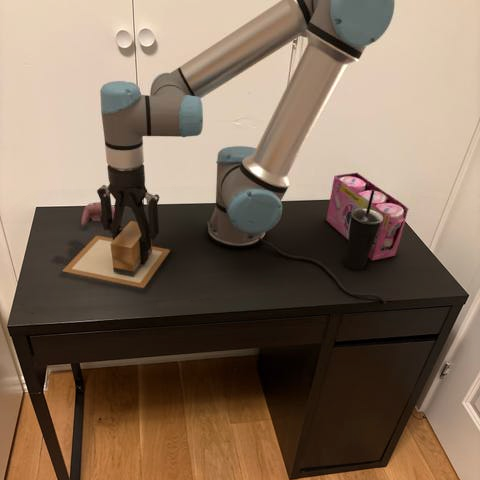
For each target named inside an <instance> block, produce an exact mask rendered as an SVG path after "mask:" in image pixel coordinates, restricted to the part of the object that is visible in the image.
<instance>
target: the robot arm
mask: <svg viewBox="0 0 480 480" xmlns="http://www.w3.org/2000/svg"><path fill="white" fill-rule="evenodd" d="M395 1H396V0H280V1H278V2H277V3H275V4H274V5H272V6H271V7H269V8H267V9H266V10H265V11H263V12H262V13H260V14H258V15H257V16H255V17H254V18H252V19H251V20H249V21H248V22H246V23H245V24H243V25H241V26H240V27H239V28H237V29H235V30H234V31H232V32H231V33H229V34H228V35H226V36H225V37H223V38H222V39H220V40H218V41H217V42H216V43H214V44H212V45H210V47H208V48H206V49H204V50H203V51H202V52H199V54H197V55H196V56H194V57H193V58H191V59H190V60H188V61H187V62H185V63H183V64H182V65H181V66H179V67H178V68H176V69H174V70H172V71H171V72H162V73H160V74H158V75H157V76H155V78H153V81H152V83H151V86H150V90H149V91H150V93H149V95H148V94H147V95H145V94H142V93H141V90H140V89H141V88H140V86H139V85H138V84H137V83H135V82H132V81H125V80H114V81H109V82H106V83H104V84H103V85H102V86H101V88H100V91H99V95H100V112H101V121H102V130H103V138H104V149H105V158H106V160H105V161H106V164H107V176H108V182H109V184H108V185H106V184H103V185H102V186H100V187H99V188H98V189H97V190H96V193H97V195H98V198H99V200H100V202H101V210H102V214H101V221H102V227H103V230H105V231H109V232H110V234H111V237H112V239H113V240H114V239H115V238H116V237H117V236H118V235H119V234H120V233H121V231H122V230H123V229H121V228H122V221H123V216H124V211H125V207H128V208H130V209H131V211H132V213H133V214H134V218H135V220H136V222H137V223H138V226H139V229H140V232H141V235H142V237H141V239H140V240H139V243H140V257H141V264H142V265H144V264H145V263H146V262H147V260H148V251H149V250H150V249H151V240H154V239H156V237H157V236H158V235H159V233H160V232H159V231H160V230H159V213H158V203H159V200H160V196H159V194H157V193H156V194H152V193H150V192H148V189H147V188H146V174H145V165H144V162H145V157H144V139H143V137H177V138H178V137H179V138H181V137H182V138H187V137H188V138H189V137H198V136H200V135H201V134H202V132H203V127H204V110H203V109H204V108H203V102H202V98H204V97H205V96H207V95H209V94H211V93H212V92H214V91H215V90H217V89H218V88H220V87H221V86H224V84H227V83H228V82H229V81H231V80H232V79H234V78H236V77H238V76H239V75H241V74H242V73H244V72H245V71H247V70H248V69H250V68H251V67H253V66H255V65H257V64H258V63H260V62H261V61H263V60H265V59H266V58H268V57H270V56H271V55H273V54H274V53H276V52H277V51H279V50H280V49H283V47H285V46H287V45H289V44H290V43H292V42H293V41H294V40H297V39H298V38H299V37H302V38H306V39H307V44H306V47H305V48H304V51H303V53H302V55H301V57H300V58H299V61H298V63H297V65H296V67H295V69H294V70H293V73H292V75H291V77H290V79H289V81H288V83H287V85H286V87H285V89H284V91H283V93H282V95H281V97H280V99H279V101H278V103H277V106H276V108H275V110H274V112H273V113H272V116H271V118H270V120H269V121H268V124H267V125H266V128H265V130H264V131H263V134H262V136H261V138H260V140H259V142H258V144H257V146H256V147H254V146H253V147H252V146H243V145H234V146H226V147H223V148H221V149H220V150H219V151H218V152H217V157H216V162H215V164H216V187H215V206H214V207H215V208H214V210H213V212H212V215H211V218H210V219H209V221H207V235H208V238H209V239H210V240H211V241H212V242H213V243H214V244H216V245H218V246H221V247H223V248H228V249H232V250H233V249H234V250H244V249H250V248H254V247H257V246H259V245H260V244H262V243H263V244H264V245H266V246H267V247H269V248H270V249H272V250H273V251H275V252H276V253H278V254H279V255H281V256H283V257H285V258H288V259H292V260H301V261H308V262H312V263H314V264H317V265H318V266H319V267H321V268H322V269H323V270H324V271H325V272H326V273H327V274H328V275H329V276H330V277H331V278H332V279H333V280H334V281H335V282H336V284H337V285H338V287H339V288H340V289H341V290H342V291H343V292H344V293H346V294H348V295H350V296H353V297H362V298H363V297H370V298H371V297H372V298H376V299H378V300H380V301H381V302H382V304H385V305H387V304H388V302H387V301H386V299H385V298H384V297H383V296H381V295H379V294H377V293H372V292H371V293H370V292H363V293H362V292H353V291H351V290H349V289H348V288H346V287H345V286H344V285H343V283H341V281H340V279H339V278H338V276H337V275H335V274H334V273H333V271H331V270H330V269H329V268H328V267H327V266H326V265H325V264H324V263H322V262H320V261H319V260H317V259H314V258H312V257H308V256H299V255H293V254H289V253H285V252H283V251H282V250H280V249H279V248H278V247H276V246H275V245H273V244H272V243H270V242H268V241H266V239H265V238H266V233H267V232H269V231H270V230H272V229H273V228H275V227H276V225H277V224H278V223H279V221H280V220H281V218H282V214H283V204H282V200H283V198H284V196H285V194H286V192H287V191H288V189H289V187H290V183H291V182H290V180H289V172H290V170H291V168H293V165H294V163H295V161H296V160H297V157H298V156H299V154H300V152H301V150H302V149H303V147H304V145H305V144H306V141H307V139H308V138H309V136H310V134H311V132H312V130H313V128H314V126H315V125H316V123H317V121H318V119H319V117H320V115H321V114H322V112H323V109H324V108H325V106H326V104H327V103H328V101H329V99H330V97H331V95H332V93H333V91H334V90H335V88H336V86H337V84H338V82H339V80H340V79H341V77H342V75H343V73H344V71H345V70H346V68H347V66H349V65H351V64H354V63H356V62H359V60H360V58H361V57H362V55H363V53H364V52H365V50H366V48H367V46H370V45H372V44H373V43H376V42H378V40H380V38H382V37H383V36H384V34H385V33H386V32H387V30H388V29H389V27H390V25H391V22H392V20H393V16H394V13H395V5H396V4H395V3H396V2H395ZM111 196H112V197H113V198H114V201H115V202H114V205H113V206H114V208H115V211H114V216H113V219H112V208H111V205H112V198H111ZM144 199H145V200H146V205H147V215H146V212H145V208H144V207H145V206H144V205H145V204H144V201H143V200H144ZM147 217H148V218H147Z"/></svg>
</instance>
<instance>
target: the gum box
mask: <svg viewBox="0 0 480 480" xmlns="http://www.w3.org/2000/svg"><path fill="white" fill-rule="evenodd" d="M372 190H374V195H373V199H372V204H371V208H370V209H371V210H374V211H376V212H378V213H380V214H381V215H382V216H383V222H382V223H381V224H380V227H379V229H378V232H377V235H376V237H375V240H374V243H373V245H372V248H371V251H370V253H369V256H368V259H369V260H370V261H376V260H381V259H387V258H390V257H395V256H396V255H397V251H398V247H399V244H400V241H401V238H402V233H403V230H404V227H405V222H406V220H407V217H408V216H407V215H408V212H409V210H410V208H408V207H407V206H406V205H405V204H404V203H403V202H401V201H399V200H398V199H396V198H395V197H393V196H392V195H390V194H389V193H387V192H386V191H385V190H383V189H381V188H380V187H378V186H377V185H375V184H374V183H373V182H371V181H370V180H368V179H367V178H365V177H364V176H362V175H361V174H360V173H359V172H352V173H343V174H337V175H334V176H333V180H332V186H331V194H330V198H329V204H328V209H327V214H326V220H325V221H326V222H327V223H328V224H330V225H331V226H332V227H333V228H334V229H335V230H336V231H337V232H339V233H340V234H341V235H342V236H343V237H344V238H345V239H346V240H348V238H349V230H350V222H351V217H350V214H351V212H352V211H353V210H355V209H361V208H363V209H364V208H365V209H367V207H368V203H369V199H370V195H371V191H372Z"/></svg>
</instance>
